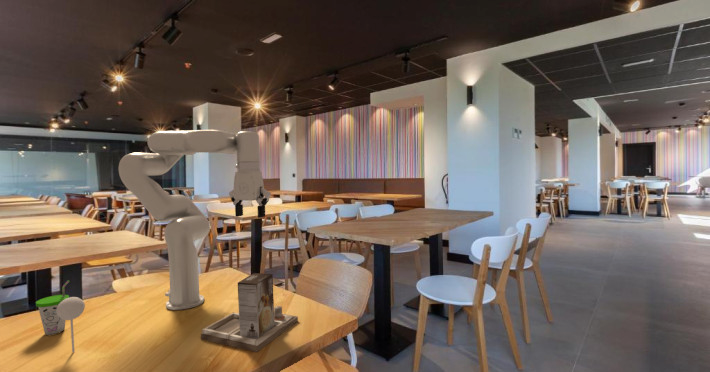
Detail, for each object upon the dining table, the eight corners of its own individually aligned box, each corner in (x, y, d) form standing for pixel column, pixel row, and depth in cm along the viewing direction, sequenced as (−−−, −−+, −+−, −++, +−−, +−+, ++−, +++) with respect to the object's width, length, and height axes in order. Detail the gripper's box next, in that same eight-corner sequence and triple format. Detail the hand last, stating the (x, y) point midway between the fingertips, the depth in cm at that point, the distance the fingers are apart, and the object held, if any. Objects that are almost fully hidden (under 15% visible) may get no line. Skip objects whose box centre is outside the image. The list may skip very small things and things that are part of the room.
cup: (33, 340, 100) (30, 290, 99) (42, 329, 107) (39, 282, 106) (67, 334, 103) (64, 285, 103) (74, 324, 110) (71, 278, 110)
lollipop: (70, 346, 96) (67, 294, 95) (92, 345, 96) (89, 293, 96) (52, 359, 90) (49, 302, 89) (76, 357, 90) (73, 301, 90)
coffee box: (255, 324, 105) (254, 272, 104) (275, 326, 103) (273, 273, 102) (238, 338, 96) (237, 282, 95) (259, 341, 94) (258, 283, 93)
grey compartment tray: (200, 339, 99) (200, 322, 99) (247, 312, 117) (247, 297, 117) (256, 352, 91) (256, 333, 91) (297, 321, 110) (297, 305, 109)
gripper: (221, 168, 119) (223, 217, 120) (262, 167, 112) (263, 219, 113) (236, 168, 126) (238, 214, 127) (275, 167, 119) (277, 216, 120)
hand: (250, 216), depth 120 cm, fingers open, 9 cm apart
